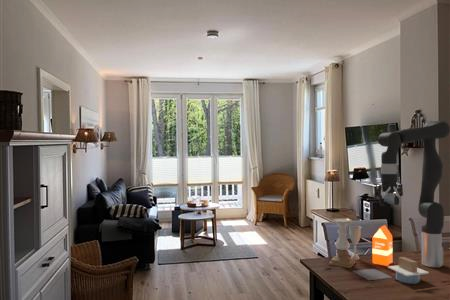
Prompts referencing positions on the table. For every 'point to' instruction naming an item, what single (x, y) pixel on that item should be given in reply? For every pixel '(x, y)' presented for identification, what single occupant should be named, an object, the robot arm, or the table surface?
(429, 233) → the robot arm
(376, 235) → the orange juice
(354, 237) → the chalice
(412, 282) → the bowl
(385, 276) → the mat
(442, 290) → the table surface
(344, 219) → the candle holder
